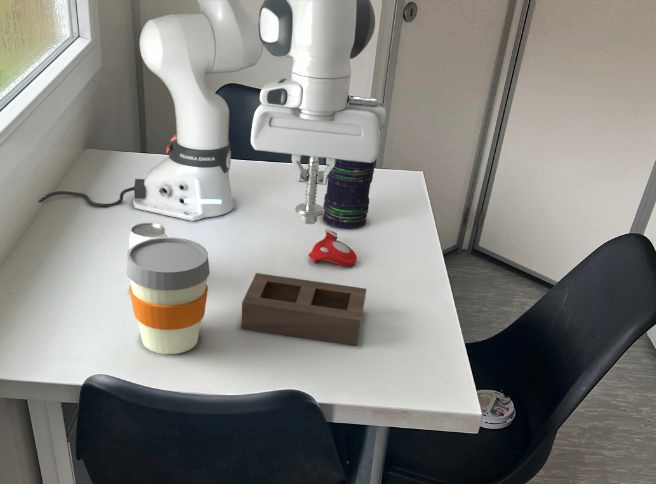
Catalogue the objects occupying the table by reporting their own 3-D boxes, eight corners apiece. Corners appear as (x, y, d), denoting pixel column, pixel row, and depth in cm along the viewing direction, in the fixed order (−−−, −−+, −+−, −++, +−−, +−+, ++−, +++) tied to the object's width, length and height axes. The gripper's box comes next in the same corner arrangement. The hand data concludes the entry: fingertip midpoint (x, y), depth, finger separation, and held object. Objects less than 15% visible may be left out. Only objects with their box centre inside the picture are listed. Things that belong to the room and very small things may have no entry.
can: (139, 303, 126) (136, 239, 119) (127, 287, 131) (123, 224, 124) (174, 297, 129) (173, 234, 122) (161, 281, 134) (159, 219, 127)
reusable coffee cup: (142, 366, 111) (137, 278, 102) (122, 326, 120) (116, 242, 111) (220, 352, 115) (221, 266, 107) (194, 314, 125) (194, 232, 116)
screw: (312, 214, 124) (329, 223, 121) (288, 218, 122) (305, 229, 119) (318, 136, 117) (336, 145, 114) (293, 140, 115) (311, 148, 111)
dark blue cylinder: (355, 210, 167) (366, 130, 157) (373, 227, 160) (386, 145, 149) (315, 213, 164) (323, 132, 154) (331, 231, 157) (341, 147, 146)
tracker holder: (368, 259, 144) (331, 257, 138) (358, 276, 146) (321, 276, 140) (336, 223, 150) (299, 220, 144) (327, 241, 153) (290, 239, 147)
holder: (356, 346, 119) (360, 319, 117) (240, 328, 122) (242, 302, 119) (362, 313, 128) (366, 288, 125) (254, 297, 131) (255, 272, 128)
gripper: (389, 94, 111) (377, 183, 119) (258, 82, 114) (255, 169, 122) (387, 104, 106) (374, 196, 114) (249, 91, 109) (246, 181, 116)
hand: (311, 182), depth 118 cm, fingers closed on screw, 2 cm apart
